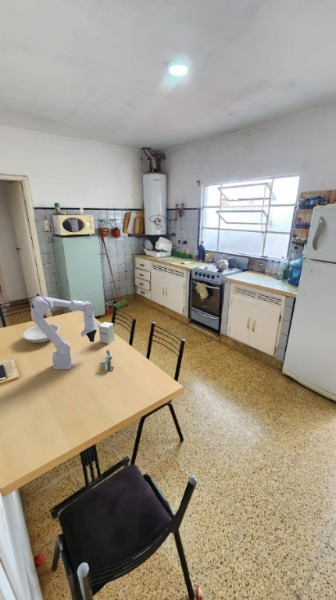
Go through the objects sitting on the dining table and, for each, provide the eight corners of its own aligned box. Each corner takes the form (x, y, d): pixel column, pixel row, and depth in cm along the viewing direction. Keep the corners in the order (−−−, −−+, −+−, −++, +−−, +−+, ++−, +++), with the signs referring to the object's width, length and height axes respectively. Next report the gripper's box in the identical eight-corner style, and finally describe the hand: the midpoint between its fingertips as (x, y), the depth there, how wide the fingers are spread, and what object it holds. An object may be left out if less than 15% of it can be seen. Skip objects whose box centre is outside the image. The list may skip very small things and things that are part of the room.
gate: (107, 359, 151) (106, 353, 150) (109, 359, 151) (108, 353, 150) (103, 369, 142) (102, 363, 140) (105, 369, 142) (104, 363, 140)
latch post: (106, 371, 141) (105, 362, 139) (108, 367, 145) (107, 359, 143) (112, 370, 141) (111, 362, 139) (113, 367, 145) (112, 358, 143)
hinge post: (105, 360, 151) (104, 352, 149) (106, 357, 154) (105, 349, 153) (111, 360, 151) (110, 352, 149) (112, 357, 155) (111, 349, 153)
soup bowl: (68, 336, 180) (67, 328, 177) (36, 352, 161) (34, 343, 158) (48, 328, 192) (46, 320, 189) (16, 342, 173) (14, 333, 170)
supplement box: (99, 342, 171) (98, 325, 167) (106, 337, 178) (104, 321, 174) (109, 344, 169) (107, 327, 164) (115, 339, 175) (113, 323, 171)
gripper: (91, 315, 156) (94, 335, 161) (75, 325, 143) (78, 345, 148) (101, 317, 153) (103, 337, 158) (85, 327, 141) (88, 348, 146)
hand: (92, 341), depth 153 cm, fingers closed
